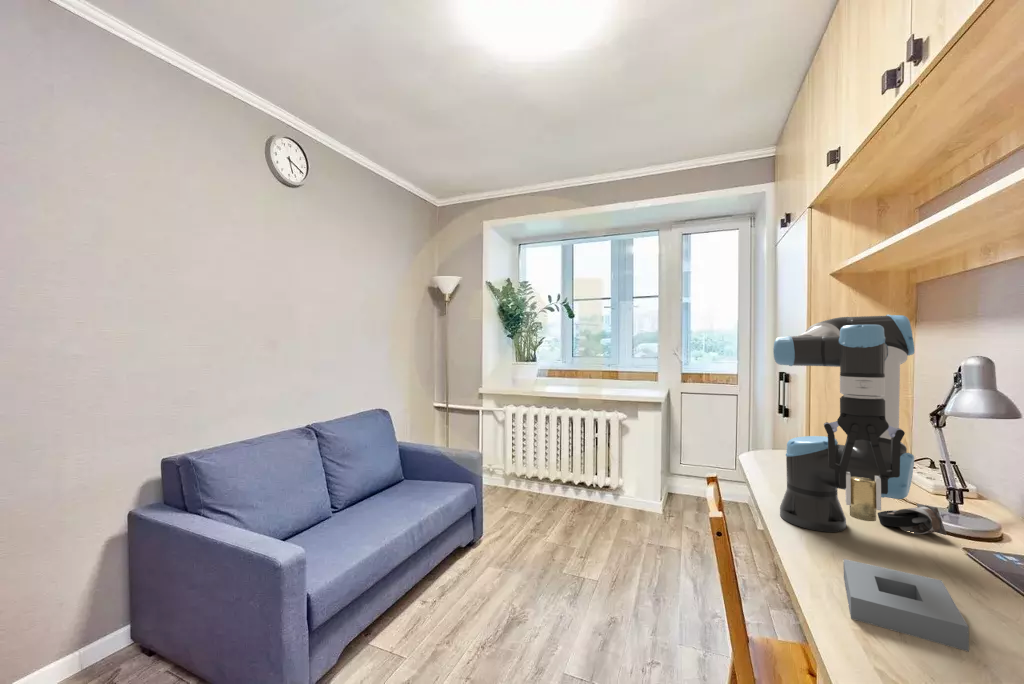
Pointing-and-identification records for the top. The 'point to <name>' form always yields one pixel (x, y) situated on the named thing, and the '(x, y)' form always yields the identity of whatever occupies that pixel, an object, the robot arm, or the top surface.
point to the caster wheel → (914, 519)
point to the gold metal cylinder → (863, 499)
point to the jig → (904, 604)
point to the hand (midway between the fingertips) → (862, 505)
